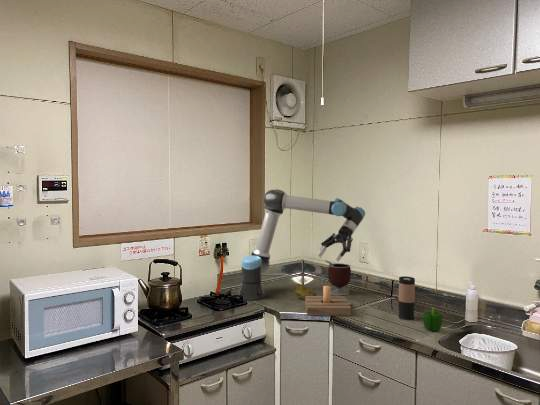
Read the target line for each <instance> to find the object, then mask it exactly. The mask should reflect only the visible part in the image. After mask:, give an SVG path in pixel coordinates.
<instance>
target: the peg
mask: <svg viewBox="0 0 540 405" xmlns="http://www.w3.org/2000/svg"><path fill="white" fill-rule="evenodd" d="M322 287H323V289H322V296H323V303H331V296H332V294H331V290H332V285H331V286H330V285H323V286H322Z"/></svg>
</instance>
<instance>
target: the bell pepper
mask: <svg viewBox="0 0 540 405" xmlns="http://www.w3.org/2000/svg"><path fill="white" fill-rule="evenodd" d="M435 309H436V307H434V306H433V307H432V309H431V310H427V311H423V312H422V321H423V323H422V324H423V326H424V329H425V330H426V331H429V332H430V331H431V332H432V331H433V332H439V331H440V329H441V328H442V324H443V315H442V313H439V312H438V311H435Z"/></svg>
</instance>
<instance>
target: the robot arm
mask: <svg viewBox="0 0 540 405" xmlns="http://www.w3.org/2000/svg"><path fill="white" fill-rule="evenodd" d="M263 204H264V208H263V209H264V211H265V214H264V216H263V217H264V218H263V220H262V224H261V228H260V232H259V236H258V237H257V238H258V239H257V241H256V244H255V245H256V246H255V248H254V249H253V250H252V251H251V253H250V254H251V255H247V256H244V257H243V258H242V260H241V264H240V265H241V285H240V288H239V291H238V296H239V295H242V296H243V299H242V300H244V301H257V300H261V299H264V298H265V291H264V286H263V285H262V275H263V274H265V273H266V272H267V271H268V269H269V268H270V259H271V254H270V249H271V245H272V243H273V239H274V237H275V233H276V230H277V229H276V228H277V225H278V222H279V219H280V216H281V215H283V212H284V210H286V209H289V210H297V211H303V212H310V213H316V214H317V213H318V214H323V215H324V214H326V215H333V216H336V217H343V218H344V219H346V220H345V221H344V222H343V224H342V225H341V226H340V228H339V230H338V231H337V232H338V233H337V234H336V233H335V232H333V233H331V236H329V237H327V239H325V240H324V241H323V242H321V243H320V245H321V246H322V247H320V249H319V251H318V253H317V254H316V255H317V257H319V258H322V257H323V255H324V253H325V252H327V248H328V247H331V246H333V245H334V244H342V248H341V250H340V251H339V252H338V253H337V255H336V256H335V258H334V259H335V260H336V262H337V263H338V262H340V260H341V259H342V258H343V257H344V255H345V254H346V253H350V252H351V248H352V242H353V240H354V239H353V237H352V235H353V234H354V232H355V231H356V230H357V228H358V227H359V225H360V224H361V222H362V221H363V220H364V218H365V216H366V211H365V209H363V208H362V207H359V206H355V207H353V206H351V205H349V203H347V202H345V201H344V200H342V199H340V198H338V197H336V198H334V200H325V199H318V198H310V197H304V196H295V195H290V194H287V193H286V191H284V190H281V189H278V188H275V189H269V190H267V192H266V193H265V194H264V196H263Z"/></svg>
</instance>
